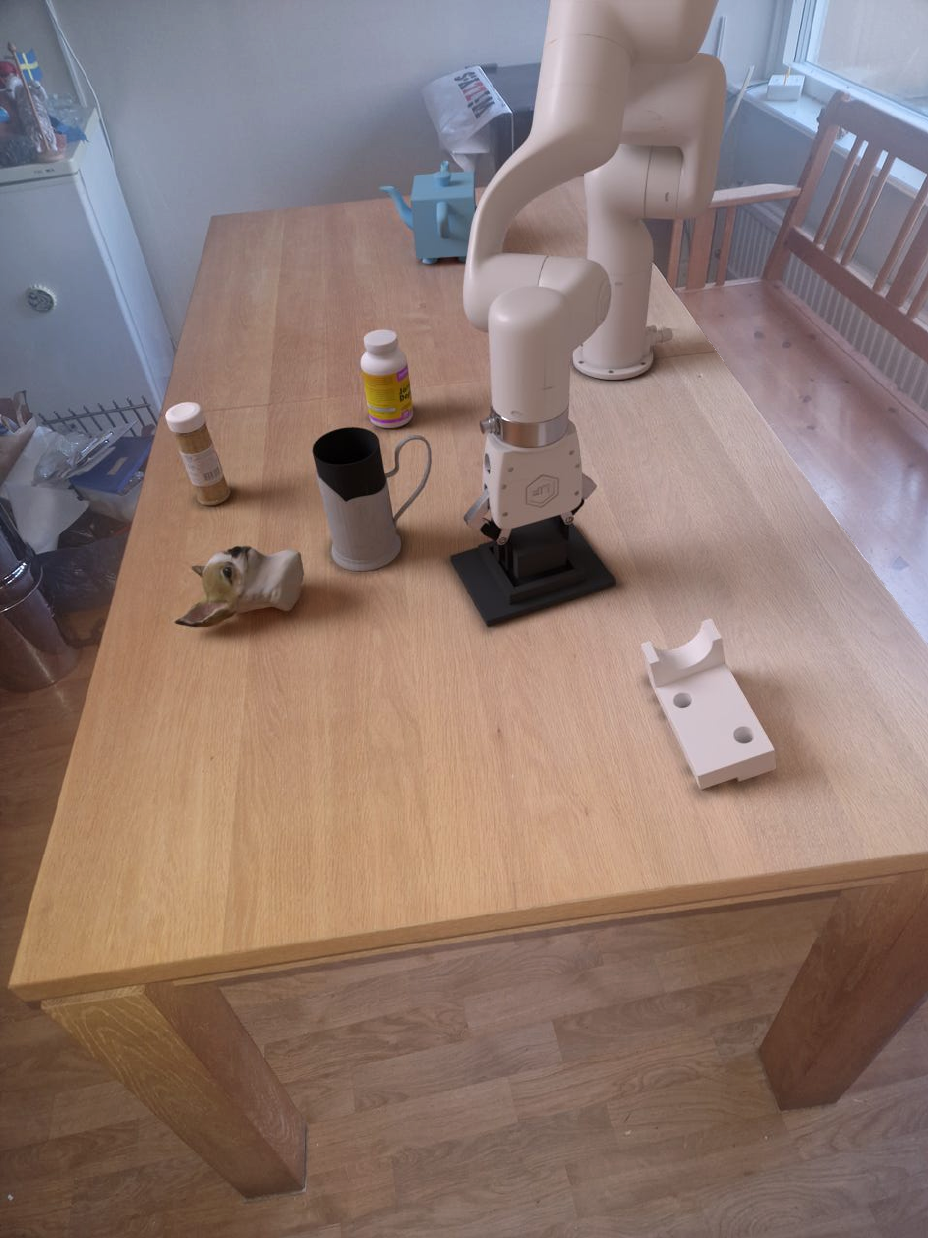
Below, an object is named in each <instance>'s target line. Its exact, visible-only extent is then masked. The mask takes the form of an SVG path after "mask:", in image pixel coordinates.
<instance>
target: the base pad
mask: <svg viewBox="0 0 928 1238" xmlns="http://www.w3.org/2000/svg"><path fill="white" fill-rule="evenodd" d="M449 557H450V563H451V565H452V567H453V568H454V570H455V572H456V575H458V577H459V579H460V581H461V583H462V584H463V587H464V588H465V590H466V592H467V594H468V595H469V597H470V599H471V600H472V602H473V604H474V606H475V607H476V609H477V612H479V615H480V617H481V618H482V620H483V623H484V624H485V625H486V627H487V628H488V627H492V626H494V625H498V624H501V623H504V622H507V621H510V620H513V619H516V618H520V617H523V616H525V615H529V614H532V613H534V612H538V611H542V610H544V609H548V608H551V607H554V606H557V605H560V604H564V603H567V602H569V601H573V600H575V599H578V598H582V597H584V596H587V595H588V596H589V595H591V594H594V593H597V592H601V591H603V590H607V589H609V588H613V587H616V586H617V585H616V584H617V579H616V577H615V576H614V575H613V574H612V573H611V571H610V570H609V569H608V567H607V566H606V564H605V563H604V562H603V561H602V559H601V558H600V556H599V555H598V554H597V552H596V551H595V550H594V549H593V548H592V546H591V544H589V542H588V541H587V540H586V538H585V537H584V536H583V535H582V533H581V532H580V530H579V529H578V528H577V526H576V525H575V524H574V522H572V523H571V524H569V539H568V540H567V549H566V565H563V566H560V567H557V568H554V569H550V570H547V571H544V572H541V573H538V574H534V575H531V576H528V577H525V578H522V579H517V577H516V576H515V574H514V573H513V571H512V569H509V570H507V569H506V568H505V566H504V565H503V563H502V562H501V561H499V562H498V561H497V559H496V558H495V555H494V548H493V539H491V540H490V541H486V542H482V543H479V544H478V545H477V547H474V548H471V549H467V550H464V551H461V552H457V553H454V554H451V555H450V556H449Z"/></svg>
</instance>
